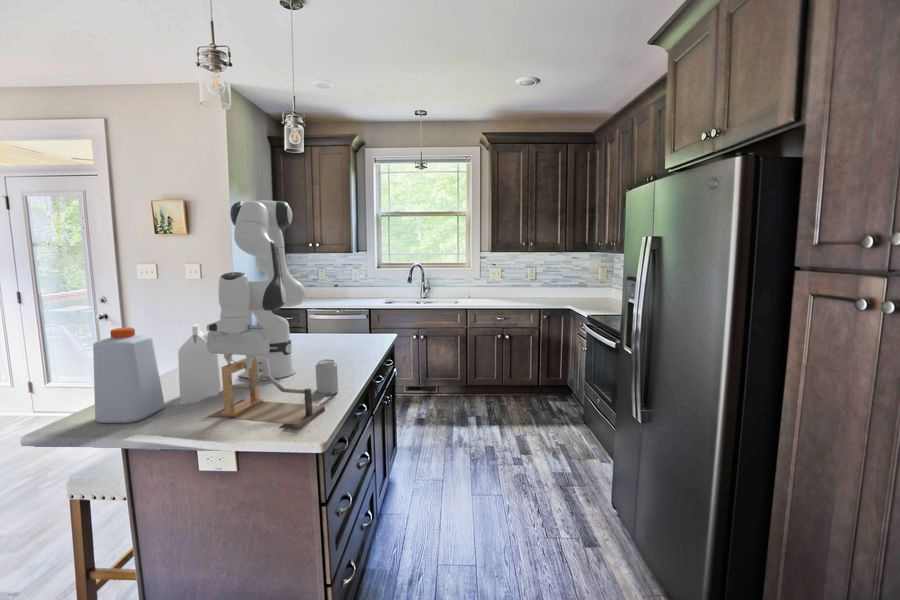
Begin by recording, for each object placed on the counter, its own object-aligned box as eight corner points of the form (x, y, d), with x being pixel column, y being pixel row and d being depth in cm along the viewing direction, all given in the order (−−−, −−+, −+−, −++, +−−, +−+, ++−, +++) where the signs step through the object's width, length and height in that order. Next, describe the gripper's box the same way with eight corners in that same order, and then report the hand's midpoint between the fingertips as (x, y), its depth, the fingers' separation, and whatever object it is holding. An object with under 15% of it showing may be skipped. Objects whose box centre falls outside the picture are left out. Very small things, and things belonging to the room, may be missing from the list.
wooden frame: (221, 416, 131) (217, 366, 129) (250, 401, 144) (247, 355, 142) (235, 417, 130) (231, 367, 128) (263, 402, 142) (260, 356, 140)
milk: (186, 393, 156) (179, 323, 153) (221, 389, 161) (216, 321, 158) (180, 404, 145) (173, 329, 142) (218, 399, 150) (212, 326, 147)
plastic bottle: (127, 406, 145) (118, 324, 141) (170, 406, 144) (162, 324, 141) (88, 424, 130) (77, 334, 126) (136, 424, 129) (127, 333, 126)
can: (332, 397, 151) (330, 364, 149) (313, 396, 152) (311, 363, 151) (341, 390, 158) (340, 358, 157) (323, 389, 160) (321, 357, 158)
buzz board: (208, 421, 131) (204, 379, 129) (242, 403, 145) (239, 365, 144) (298, 429, 124) (295, 385, 122) (324, 410, 138) (322, 370, 137)
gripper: (272, 323, 134) (275, 366, 136) (217, 322, 139) (220, 363, 140) (259, 327, 128) (262, 372, 130) (201, 325, 132) (205, 369, 134)
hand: (240, 367), depth 135 cm, fingers open, 4 cm apart
